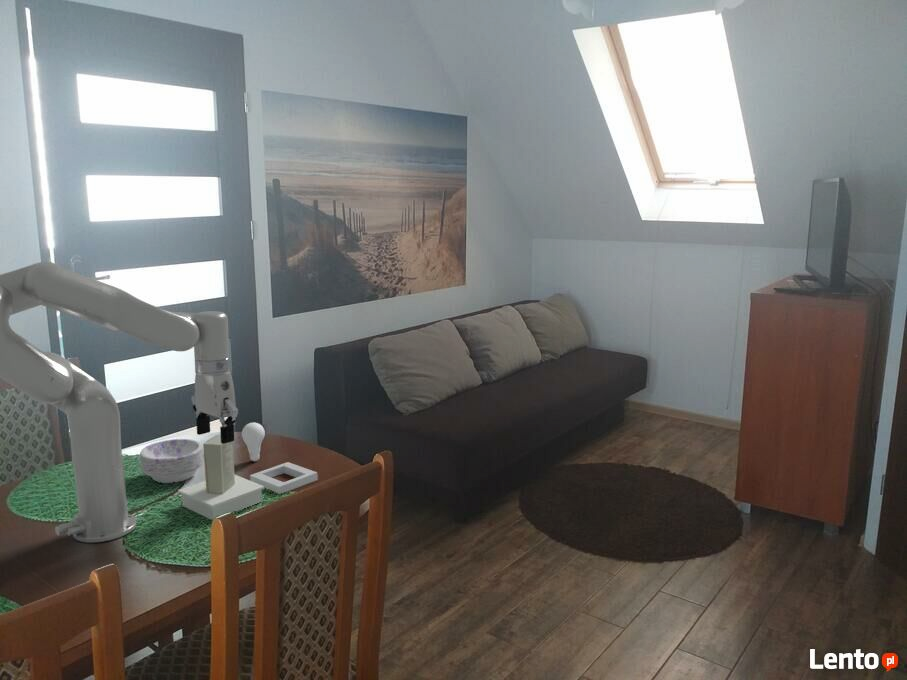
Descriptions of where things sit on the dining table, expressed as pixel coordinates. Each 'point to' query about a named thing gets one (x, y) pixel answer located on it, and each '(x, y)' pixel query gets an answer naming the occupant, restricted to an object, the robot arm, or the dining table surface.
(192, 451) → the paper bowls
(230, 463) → the skincare box
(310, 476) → the frame
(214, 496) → the stand
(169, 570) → the dining table surface
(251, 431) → the lightbulb
